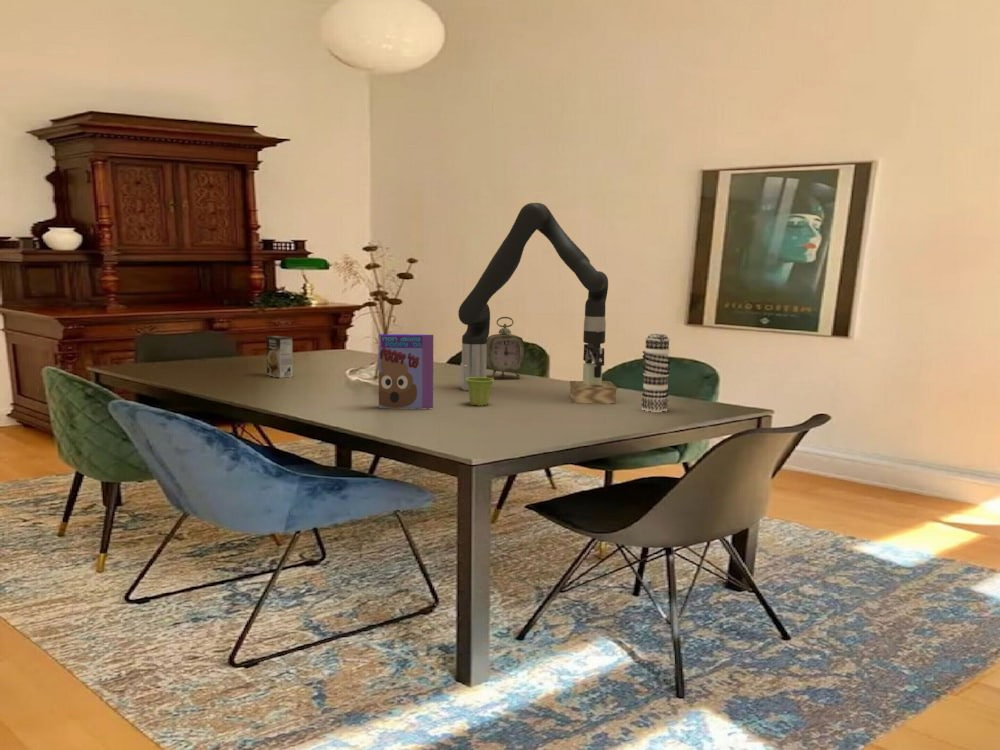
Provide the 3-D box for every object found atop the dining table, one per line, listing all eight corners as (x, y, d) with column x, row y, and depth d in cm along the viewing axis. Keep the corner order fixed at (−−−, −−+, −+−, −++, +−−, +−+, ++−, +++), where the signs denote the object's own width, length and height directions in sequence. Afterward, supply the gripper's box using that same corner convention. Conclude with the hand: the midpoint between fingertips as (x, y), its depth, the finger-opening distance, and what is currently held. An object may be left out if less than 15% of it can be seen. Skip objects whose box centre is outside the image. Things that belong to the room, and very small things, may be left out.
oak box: (574, 404, 292) (575, 387, 291) (569, 397, 306) (569, 380, 305) (616, 405, 292) (617, 387, 292) (609, 397, 307) (609, 381, 306)
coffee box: (266, 376, 342) (265, 336, 339) (279, 374, 347) (278, 335, 344) (280, 378, 336) (279, 337, 334) (293, 377, 341) (292, 336, 338)
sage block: (588, 385, 296) (588, 365, 295) (582, 383, 300) (583, 363, 299) (601, 385, 297) (602, 365, 296) (596, 382, 302) (596, 363, 301)
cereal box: (378, 409, 276) (378, 335, 273) (379, 406, 281) (379, 333, 278) (432, 409, 277) (433, 335, 274) (433, 406, 282) (433, 334, 279)
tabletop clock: (488, 380, 341) (489, 317, 337) (484, 377, 349) (484, 315, 346) (524, 379, 344) (525, 317, 340) (518, 376, 353) (519, 315, 349)
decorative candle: (636, 407, 286) (639, 333, 282) (662, 407, 288) (665, 333, 284) (646, 412, 277) (649, 336, 274) (673, 412, 279) (676, 335, 276)
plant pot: (486, 401, 293) (486, 376, 292) (498, 406, 285) (498, 380, 284) (461, 403, 289) (461, 377, 288) (472, 407, 281) (472, 381, 280)
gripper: (577, 327, 302) (576, 373, 304) (591, 331, 288) (590, 379, 290) (597, 327, 303) (595, 372, 306) (612, 331, 290) (610, 378, 292)
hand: (593, 375), depth 298 cm, fingers open, 8 cm apart
